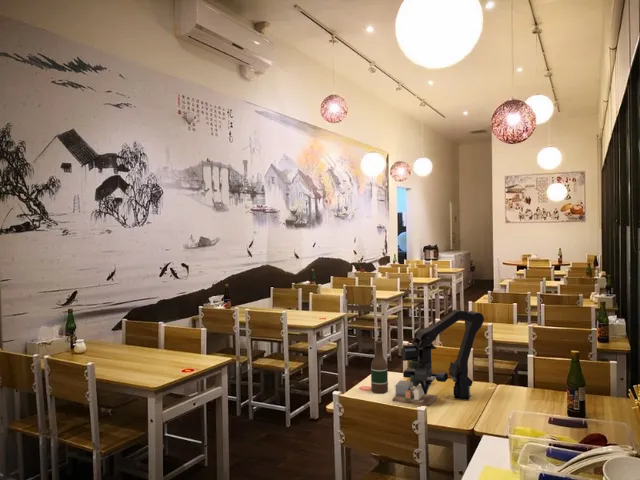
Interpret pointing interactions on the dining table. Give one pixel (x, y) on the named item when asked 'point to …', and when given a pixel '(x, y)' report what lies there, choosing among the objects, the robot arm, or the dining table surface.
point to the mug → (413, 365)
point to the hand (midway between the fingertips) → (425, 394)
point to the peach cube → (408, 394)
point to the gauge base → (424, 400)
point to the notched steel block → (403, 388)
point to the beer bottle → (379, 371)
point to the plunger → (417, 392)
